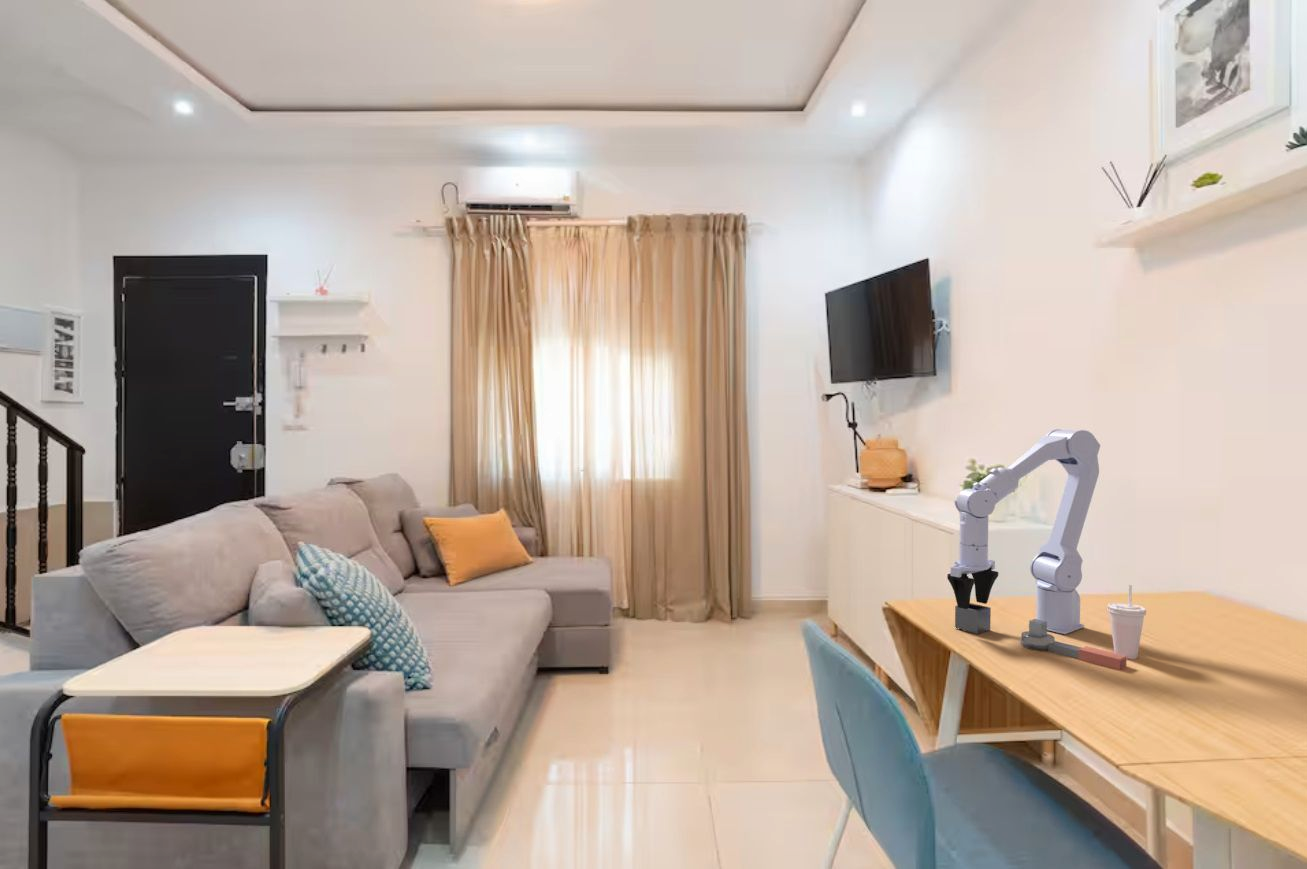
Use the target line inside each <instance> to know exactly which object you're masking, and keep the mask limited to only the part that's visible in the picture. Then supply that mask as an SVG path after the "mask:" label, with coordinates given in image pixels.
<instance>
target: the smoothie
mask: <svg viewBox="0 0 1307 869" xmlns="http://www.w3.org/2000/svg"><path fill="white" fill-rule="evenodd" d="M1127 588H1128V591H1127V592H1128V594H1127V596H1128V598H1127V603H1125V602H1111V603H1110V602H1109V603H1108V604H1107V608H1106V609H1107V611H1108V612H1109V620H1110V628H1111V636H1112V644H1113V653H1116V654H1120V655H1125V656H1127V659H1128V660H1135V659H1138V655H1139V649H1140V648H1139V647H1140V642H1141V638H1142V637H1141V636H1142V630H1143V624H1144V618H1145V616H1147V608H1146V607H1144V606H1141V605H1136V604H1132V599H1133V598H1132V596H1133V595H1132V594H1133V593H1132V592H1133V590H1132V589H1133V585H1132V584H1128V587H1127Z"/></svg>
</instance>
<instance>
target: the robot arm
mask: <svg viewBox="0 0 1307 869" xmlns="http://www.w3.org/2000/svg"><path fill="white" fill-rule="evenodd" d="M1100 448H1101V444H1100V442H1099V441H1098V440H1097V438H1096V436H1095V435H1094V434H1093V433H1092V432H1090V431H1089V430H1084V429H1079V430H1069V429H1068V430H1067V429H1066V430H1065V429H1059V428H1056V429H1052V430H1050V431H1049V432H1048V433H1047V434H1046V435H1043V436H1041V437H1040V438H1039V439H1038V441H1037V442H1036V443H1035V444H1034V445H1033V446H1032V447H1030V449H1028V450H1027V451H1026V452H1025V453H1023V454H1022V455H1021V456H1020V457H1018V459H1016V460H1015V461H1014V462H1012V463H1011V464H1010V465H1009V466H1008V467H997V468H991V470H989V471H988V472H989V474H988V475H987V476H985V477H984V478H983V479H981V480H980V481H979V482H974V483H973V484H972V488H964V489H963V490H962V491H960V492H959V493H958V495H957V498H956V500H954V506H955V508H956V510H957V511H958V513H959V545H958V546H959V548H958V549H959V550H958V553H959V554H958V556H959V558H958V560H954V565H953V566H950V573H948V574H947V580H948V582H949V583H950V585H951V587H952V590H953V593H954V597H955V602H956V604H957V605H956V606H958V607H959V608H963V609H968V608H969V604H970V603H971V602H970V601H971V595H972V590H973V587H974V590H975V591H974V594H975V599H976V600H975V601H976V603H980V604H984V605H985V604H987V603H988V600H989V598H990V594H991V592H992V588H993V585H994V583H995V581H996V580H997V578H998V577H999V572H998V571H997V570H995V568H996V560H993V559H992V560H991V559H988V557H989V553H988V552H989V515H991V514H992V513H993V512H994V511H995V506H996V505H997V503H999V502H1000V501H1002V500H1003V499H1005V498H1006V497H1007V496H1008V495H1010V494H1011V493H1012V492H1014V491H1015V490H1016V489H1018V487H1019V483H1020V482H1019V481H1020V480H1021V479H1022V478H1024V477H1025V476H1027V475H1029V474H1030V473H1031V472H1033V471H1034V470H1036V469H1038V467H1040V466H1042V465H1044V464H1045V463H1046V462H1048V461H1053V460H1055V461H1057V462H1058V463H1059V464H1061V465H1062V467H1063V468H1064V470H1065V471H1066V473H1067V474H1068V477H1067V479H1066V482H1065V486H1064V489H1063V493H1062V497H1061V499H1060V503H1059V506H1058V509H1057V512H1056V516H1055V520H1054V522H1053V525H1052V526H1053V527H1052V529H1051V533H1050V535H1049V540H1048V541H1047V542H1045V543H1044V544H1043V545H1040V547H1039V548H1038V552H1037V554H1036V555H1035V557H1034V558H1032V560H1031V562H1030V566H1029V569H1030V570H1029V571H1030V574H1031V576H1032V577H1033V578H1034V579H1035V584H1036V607H1035V608H1036V613H1035V615H1036V616H1035V619H1038V620H1042V621H1047V631H1049V632H1054V633H1057V634H1063V635H1068V634H1069V633H1072V632H1075V631H1078V630H1080V629H1082V628H1085V624H1082V623H1081V597H1080V594H1079V592H1078V591H1077V588H1078V587H1079V585H1080V584H1081V582H1082V579H1083V573H1082V572H1083V571H1082V564H1083V561H1084V560H1083V557H1082V556H1081V555H1080V553H1079V551H1078V549H1077V548H1078V545H1079V543H1080V540H1081V535H1082V532H1083V529H1084V524H1085V522H1086V519H1087V515H1088V513H1089V512H1088V511H1089V508H1090V506H1091V502H1092V498H1093V495H1094V491H1095V488H1096V485H1097V481H1098V479H1099V478H1098V477H1099V474H1100V466H1099V458H1098V455H1099V451H1100ZM969 575H971V576H972V577H969ZM1027 626H1029V623H1027Z"/></svg>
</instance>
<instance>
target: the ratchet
mask: <svg viewBox="0 0 1307 869" xmlns="http://www.w3.org/2000/svg"><path fill="white" fill-rule="evenodd" d="M1028 624H1029V625H1028V631H1023V632H1021V633H1020V634H1021V640H1020V642H1021V643H1020V644H1021V646H1022V647H1024V648H1026V649H1028V650H1031V651H1032V650H1033V651H1037V652H1038V651H1039V652H1051V653H1054V654H1058V655H1060V656H1061V655H1063V656H1066V657H1070V658H1074V659H1077V660H1079V661H1084V662H1088V663H1090V664H1095V665H1097V666H1098V665H1099V666H1102V667H1107V668H1110V669H1115V670H1118V671H1120V670H1121V669H1124V668H1126V667H1127V656H1125V655H1120V654H1116V653H1114V652H1113V651H1112V652H1111V651H1108V650H1104V649H1099V648H1095V647H1092V646H1084V647H1082V646H1077V645H1072V644H1069V643H1065V642H1061V641H1056V639H1055V638H1056V637H1055V635H1052V634H1049V633H1048V630H1047V621H1042V620H1038V619H1036V618H1034V619H1030V620H1029V621H1028Z"/></svg>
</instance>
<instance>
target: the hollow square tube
mask: <svg viewBox="0 0 1307 869" xmlns="http://www.w3.org/2000/svg"><path fill="white" fill-rule="evenodd" d="M954 607H955V608H954V618H955V619H954V628H955V627H956V628H959V629H962V630H965V631H964V632H966V631H969V632H968V633H970V632H972V633H971V634H974V633H975V634H974V635H980V634H983V633H986V632H989V631H991V618H992V617H991V613H992V611H991V609H992V607H989V606H985V605H980V604H976V603H972V602H970V604H969V608H968V609H963V608H959V607H958V605H954ZM962 630H961V631H962ZM988 630H989V631H988ZM985 631H986V632H985Z"/></svg>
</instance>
